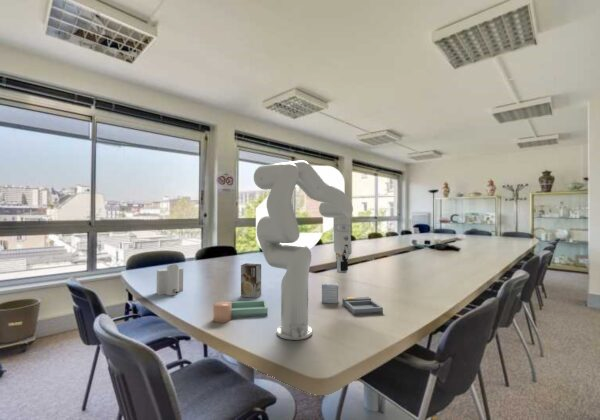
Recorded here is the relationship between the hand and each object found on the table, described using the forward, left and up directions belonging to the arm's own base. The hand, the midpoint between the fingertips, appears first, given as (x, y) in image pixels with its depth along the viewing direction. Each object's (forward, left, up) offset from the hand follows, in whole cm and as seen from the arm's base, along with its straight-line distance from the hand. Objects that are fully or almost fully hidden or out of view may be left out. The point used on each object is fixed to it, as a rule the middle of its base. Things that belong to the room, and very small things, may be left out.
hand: (341, 269), depth 130 cm
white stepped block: (+38, +80, -18) cm, 90 cm away
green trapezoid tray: (+3, +41, -18) cm, 45 cm away
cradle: (-2, -9, -18) cm, 20 cm away
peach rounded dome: (-4, +51, -18) cm, 54 cm away
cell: (0, 0, -1) cm, 1 cm away
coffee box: (+28, +39, -18) cm, 51 cm away
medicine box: (+11, +2, -18) cm, 21 cm away
